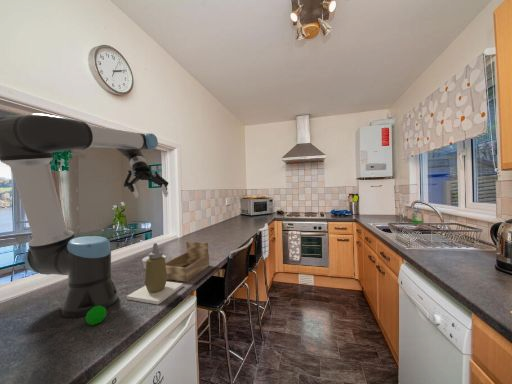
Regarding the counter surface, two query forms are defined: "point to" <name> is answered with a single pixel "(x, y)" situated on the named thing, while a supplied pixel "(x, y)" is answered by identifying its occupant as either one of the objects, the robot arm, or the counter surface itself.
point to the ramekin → (147, 259)
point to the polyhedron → (96, 315)
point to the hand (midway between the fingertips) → (152, 195)
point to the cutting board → (155, 293)
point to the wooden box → (188, 262)
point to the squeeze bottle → (155, 271)
